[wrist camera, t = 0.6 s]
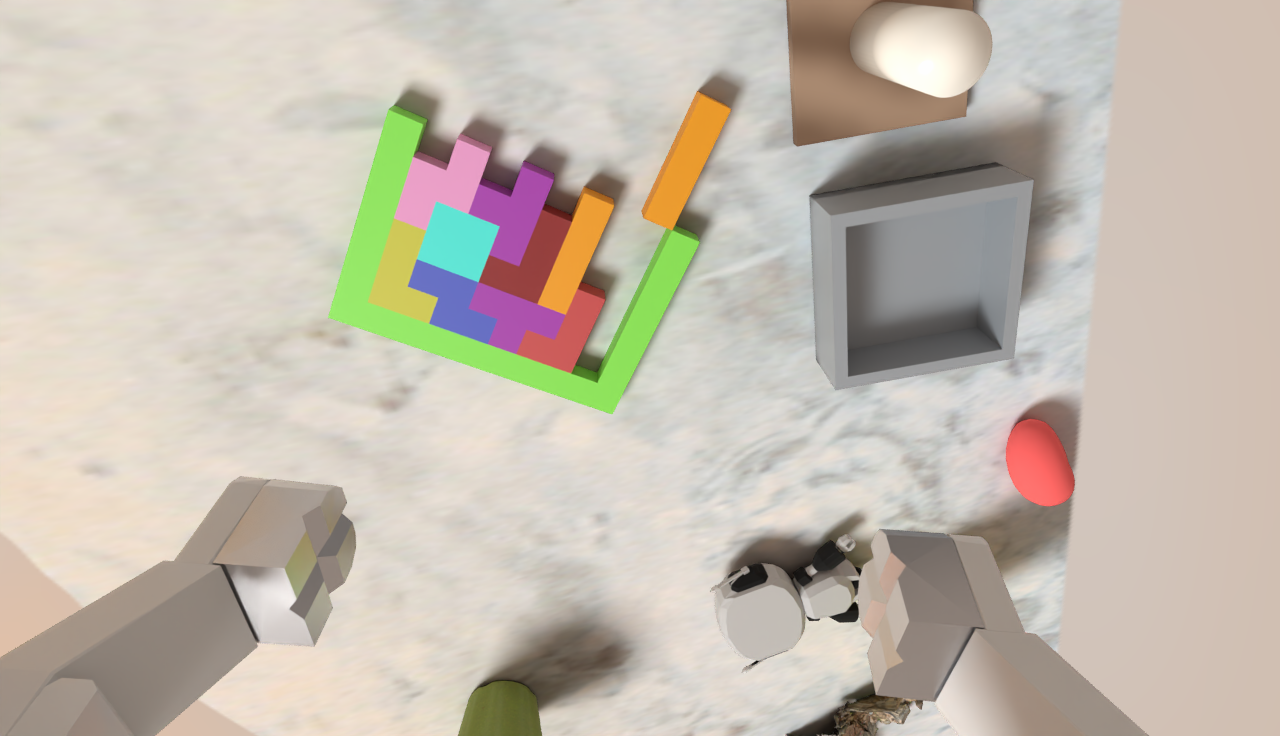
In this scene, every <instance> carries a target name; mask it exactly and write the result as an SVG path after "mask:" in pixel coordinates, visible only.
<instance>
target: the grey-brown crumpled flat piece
mask: <svg viewBox="0 0 1280 736" xmlns="http://www.w3.org/2000/svg"><path fill="white" fill-rule="evenodd" d="M912 701H915V702H916V706H917V707H918V708H919V709H921V710H922V705H923V700H915V699H906V698H898V697H889V696H880V695H870V696H867V697H865V698H863V699H860V700H856V702H854V703H851V704H850V703H849V701H847V703H846V704H845V706H842V707H841V708H838V709H840V711H839V712H836V714H835V716H834V719H835V722H836V724H837V725H836V726H835V727H834V728H836V729H837V730H838V731H837V730H835V731H834V733H831V735H830V736H875V733H876V731H877V730H878V728H876V721H878V720H880V722H881V723H884V724H890V723H891V722H894V723H895V722H896V723H897V724H904V722H905V720H906V718H907V716H908V714H909V713H910V708H909V706H907V704H908V703H909V705H910V703H911V702H912ZM842 711H843V712H842ZM847 711H848V712H847ZM850 711H852V712H850ZM853 711H854V712H853ZM869 712H873V714H872V715H870V714H869ZM869 715H870V716H869ZM838 732H839V733H838ZM785 736H787V734H785ZM817 736H818V735H817ZM820 736H828V735H827V734H825V735H824V733H823V735H822V733H820Z"/></svg>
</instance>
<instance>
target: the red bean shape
mask: <svg viewBox="0 0 1280 736" xmlns="http://www.w3.org/2000/svg"><path fill="white" fill-rule="evenodd" d="M1006 461H1007V467H1008V471H1009V474H1010V477H1011V479H1012V481H1013V483H1014V485H1015V487H1016V488H1017V489H1018V491H1019V492H1020V493H1021V494H1022V495H1023V496H1024V497H1025V498H1026V499H1028V500H1029V501H1032V502H1034V503H1036V504H1038V505H1042V506H1054V505H1058V504H1061V503H1063V502H1065V501H1066V500H1068V499H1069V498H1070V496H1071V495H1072V493H1073V491H1074V486H1075V480H1074V475H1073V472H1072V469H1071V467H1070V465H1069V462H1068V459H1067V456H1066V453H1065V451H1064V448H1063V446H1062V444H1061V442H1060V440H1059V438H1058V436H1057V435H1056V433H1055V432H1054V431H1053V429H1052V428H1051V427H1050V426H1049V425H1048V424H1046V423H1045V422H1043V421H1040V420H1037V419H1027V420H1023V421H1021V422H1019V423H1018V424H1016V426H1015V427H1014V429H1013V430H1012V431H1011V434H1010V436H1009V438H1008V442H1007V447H1006Z"/></svg>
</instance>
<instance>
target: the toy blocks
mask: <svg viewBox="0 0 1280 736" xmlns="http://www.w3.org/2000/svg"><path fill="white" fill-rule="evenodd" d="M730 111H731V109H730V108H729V107H728V106H727V105H725V104H723V103H721V102H719V101H717V100H715V99H713V98H711V97H709V96H707V95H705V94H702V93H700V92H698V91H697V93H696V95H695V97H694V99H693V101H692V103H691V105H690V108H689V110H688V112H687V114H686V116H685V118H684V121H683V123H682V125H681V127H680V129H679V131H678V133H677V136H676V138H675V140H674V142H673V144H672V146H671V149H670V151H669V153H668V155H667V157H666V159H665V161H664V164H663V166H662V168H661V170H660V172H659V174H658V177H657V179H656V181H655V183H654V185H653V187H652V189H651V192H650V194H649V196H648V198H647V200H646V202H645V205H644V207H643V209H642V214H643V218H644V219H647V220H649V221H651V222H654V223H656V224H658V225H661V226H663V227H665V228H667V229H666V231H665V233H664V235H663V237H662V239H661V241H660V243H659V245H658V247H657V249H656V251H655V253H654V255H653V258H652V260H651V262H650V264H649V266H648V268H647V270H646V272H645V274H644V276H643V278H642V280H641V282H640V284H639V286H638V288H637V291H636V293H635V295H634V297H633V299H632V301H631V303H630V305H629V307H628V309H627V311H626V313H625V315H624V317H623V319H622V321H621V324H620V326H619V328H618V330H617V332H616V334H615V336H614V338H613V340H612V342H611V344H610V346H609V348H608V350H607V352H606V354H605V357H604V359H603V361H602V363H601V365H600V367H599V369H598V371H597V372H594V371H591V370H589V369H586V368H583V367H580V366H577V365H575V364H576V362H577V360H578V358H579V355H580V353H581V351H582V349H583V347H584V345H585V343H586V340H587V338H588V336H589V334H590V332H591V330H592V328H593V325H594V323H595V321H596V319H597V317H598V315H599V313H600V311H601V308H602V306H603V304H604V302H605V291H603V290H601V289H598V288H596V287H593V286H591V285H588V284H586V283H583V282H581V280H582V277H583V275H584V273H585V271H586V268H587V266H588V264H589V262H590V259H591V257H592V255H593V253H594V250H595V248H596V246H597V244H598V242H599V239H600V237H601V235H602V233H603V230H604V228H605V226H606V224H607V221H608V219H609V217H610V215H611V212H612V210H613V208H614V201H613V199H612V198H610V197H607V196H605V195H603V194H600V193H598V192H596V191H593V190H591V189H589V188H586V187H584V188H583V190H582V192H581V195H580V197H579V199H578V202H577V204H576V207H575V209H574V211H573V214H572V215H571V214H568V213H566V212H563V211H561V210H559V209H556V208H554V207H551V206H549V205H547V204H544V203H545V201H546V198H547V196H548V193H549V191H550V188H551V186H552V183H553V181H554V173H551V172H549V171H547V170H544V169H542V168H540V167H537V166H535V165H533V164H530V163H528V162H526V161H523V164H522V167H521V169H520V172H519V174H518V177H517V180H516V182H515V185H514V188H513V190H510V189H508V188H506V187H503V186H501V185H498V184H496V183H494V182H491V181H489V180H486V179H484V178H482V175H483V172H484V170H485V167H486V164H487V161H488V158H489V156H490V153H491V150H492V147H491V146H488V145H486V144H484V143H481V142H479V141H477V140H474V139H472V138H470V137H467V136H465V135H463V134H460V135H459V137H458V138H457V141H456V144H455V147H454V150H453V153H452V156H451V159H450V162H449V164H448V163H445V162H443V161H441V160H438V159H436V158H433V157H431V156H428V155H426V154H424V153H421V152H419V151H418V149H419V146H420V142H421V139H422V136H423V133H424V130H425V127H426V123H427V120H428V119H425V118H423V117H421V116H418V115H416V114H414V113H411V112H409V111H407V110H404V109H402V108H400V107H397V106H395V105H394V106H392V107H391V108H390V109H389V110H388V113H387V116H386V120H385V123H384V127H383V130H382V134H381V137H380V140H379V144H378V147H377V151H376V154H375V158H374V161H373V165H372V168H371V171H370V175H369V178H368V182H367V185H366V189H365V192H364V196H363V199H362V203H361V206H360V209H359V213H358V216H357V220H356V223H355V227H354V230H353V234H352V237H351V240H350V244H349V247H348V251H347V254H346V258H345V261H344V265H343V268H342V271H341V275H340V278H339V282H338V285H337V289H336V292H335V296H334V299H333V302H332V306H331V309H330V313H329V316H328V318H331V319H334V320H337V321H339V322H342V323H345V324H348V325H351V326H354V327H357V328H360V329H363V330H366V331H369V332H372V333H375V334H378V335H381V336H384V337H386V338H389V339H392V340H395V341H398V342H401V343H404V344H407V345H410V346H413V347H416V348H419V349H422V350H425V351H428V352H431V353H433V354H436V355H439V356H442V357H445V358H448V359H451V360H454V361H457V362H460V363H463V364H466V365H469V366H472V367H475V368H478V369H480V370H483V371H486V372H489V373H492V374H495V375H498V376H501V377H504V378H507V379H510V380H513V381H516V382H519V383H522V384H525V385H527V386H530V387H533V388H536V389H539V390H542V391H545V392H548V393H551V394H554V395H557V396H560V397H563V398H566V399H569V400H572V401H574V402H577V403H580V404H583V405H586V406H589V407H592V408H595V409H598V410H601V411H604V412H607V413H610V414H613V412H614V410H615V408H616V406H617V404H618V402H619V400H620V398H621V396H622V394H623V392H624V390H625V388H626V386H627V384H628V382H629V381H630V379H631V377H632V375H633V373H634V371H635V369H636V367H637V365H638V363H639V361H640V359H641V357H642V355H643V353H644V351H645V349H646V347H647V345H648V343H649V341H650V339H651V337H652V335H653V333H654V332H655V330H656V328H657V326H658V324H659V322H660V320H661V318H662V316H663V314H664V312H665V310H666V308H667V306H668V304H669V302H670V300H671V298H672V296H673V294H674V292H675V290H676V288H677V286H678V284H679V283H680V281H681V279H682V277H683V275H684V273H685V271H686V269H687V267H688V265H689V263H690V261H691V259H692V257H693V255H694V253H695V251H696V249H697V247H698V245H699V243H700V241H699V239H698V237H697V235H696V234H694V233H691V232H689V231H687V230H684V229H682V228H680V227H677V226H675V224H676V222H677V220H678V217H679V215H680V213H681V211H682V209H683V207H684V205H685V203H686V201H687V199H688V197H689V195H690V193H691V191H692V189H693V187H694V185H695V183H696V181H697V179H698V177H699V175H700V172H701V170H702V168H703V166H704V164H705V162H706V160H707V158H708V156H709V154H710V152H711V150H712V148H713V146H714V144H715V142H716V140H717V138H718V136H719V134H720V132H721V130H722V127H723V125H724V123H725V121H726V119H727V117H728V115H729V113H730Z"/></svg>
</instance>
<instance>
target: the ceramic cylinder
mask: <svg viewBox="0 0 1280 736" xmlns="http://www.w3.org/2000/svg"><path fill="white" fill-rule="evenodd" d="M850 52H851V55H852V58H853V60H854V62H855V63H856V65H857V66H858V67H859V68H860V69H861V70H863V71H865V72H867V73H870V74H872V75H875V76H878V77H881V78H884V79H887V80H889V81H892V82H895V83H898V84H901V85H903V86H906V87H909V88H912V89H915V90H918V91H920V92H923V93H926V94H929V95H932V96H935V97H940V98H947V97H953V96H956V95H959V94H961V93H963V92H965V91H966V90H968V89H969V88H971V87H972V86H973V85H974V84H975V83H976V82H977V81H978V80H979V79H980V77H981V76H982V75H983V73H984V71H985V70H986V68H987V66H988V63H989V60H990V57H991V53H992V36H991V32H990V29H989V27H988V25H987V23H986V22H985V21H984V19H983V18H982V17H981V16H979V15H978V14H976V13H974V12H972V11H969V10H962V9H953V8H944V7H935V6H925V5H916V4H907V3H898V2H881V3H878V4H875V5H873V6H871V7H870V8H868V9H867V10H866V11H865V12H863V13H862V15H861V16H860V17H859V18H858V20H857V21H856V23H855V25H854V27H853V29H852V32H851V37H850Z"/></svg>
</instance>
